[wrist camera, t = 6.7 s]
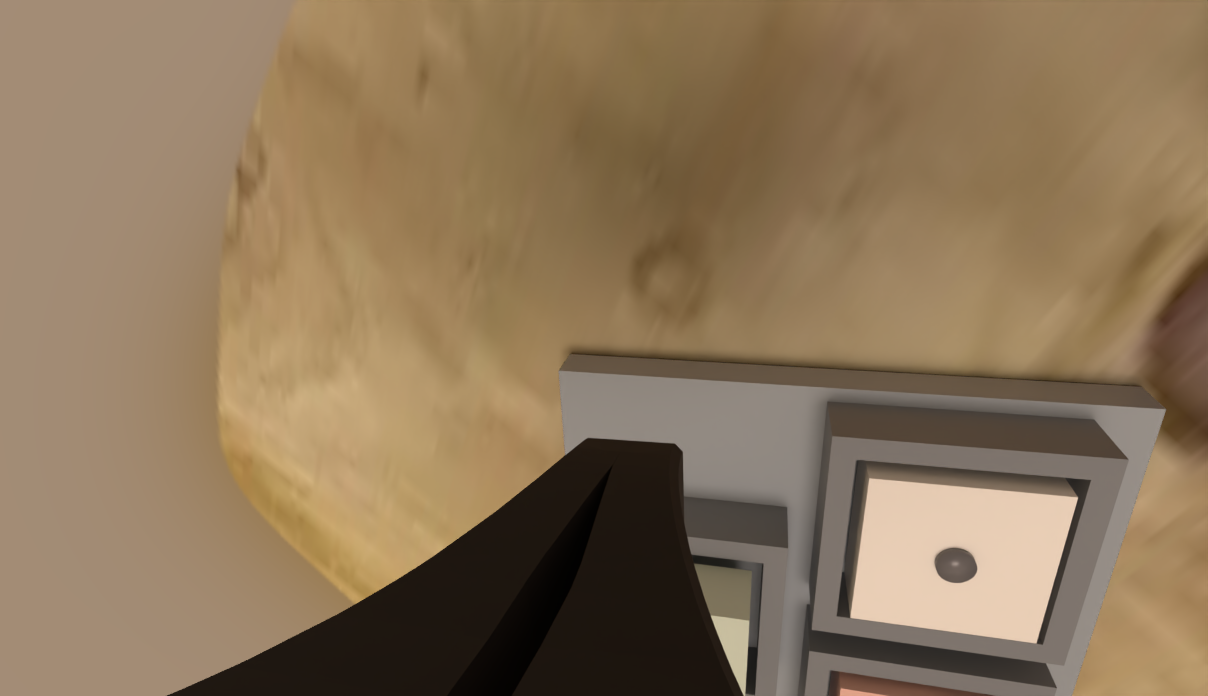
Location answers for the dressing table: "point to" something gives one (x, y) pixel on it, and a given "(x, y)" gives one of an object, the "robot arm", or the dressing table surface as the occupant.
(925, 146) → the dressing table surface
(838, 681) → the tile coral
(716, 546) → the stacking puzzle board
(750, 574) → the tile sage
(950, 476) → the tile ivory
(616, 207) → the dressing table surface
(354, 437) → the dressing table surface
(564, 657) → the robot arm
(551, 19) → the dressing table surface
